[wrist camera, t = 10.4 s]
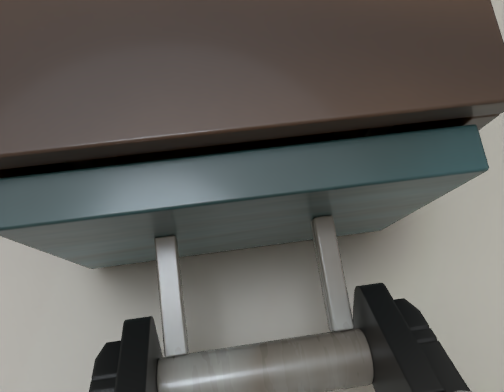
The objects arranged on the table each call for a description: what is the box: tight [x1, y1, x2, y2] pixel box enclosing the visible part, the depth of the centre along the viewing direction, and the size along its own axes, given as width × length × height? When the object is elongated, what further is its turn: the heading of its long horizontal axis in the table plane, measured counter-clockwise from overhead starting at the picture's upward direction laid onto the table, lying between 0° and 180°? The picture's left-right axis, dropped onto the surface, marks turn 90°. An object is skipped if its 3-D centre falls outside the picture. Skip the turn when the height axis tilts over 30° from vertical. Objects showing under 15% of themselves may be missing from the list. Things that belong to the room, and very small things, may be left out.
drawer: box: [0, 124, 489, 392], centre depth 15 cm, size 18×11×8 cm, turn 8°
